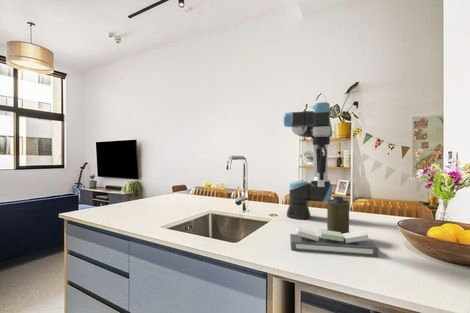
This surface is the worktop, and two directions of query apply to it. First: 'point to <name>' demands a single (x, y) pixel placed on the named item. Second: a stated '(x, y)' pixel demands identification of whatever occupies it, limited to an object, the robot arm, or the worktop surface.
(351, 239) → the block
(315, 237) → the block
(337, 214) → the canister
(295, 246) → the rocker switch panel
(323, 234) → the rocker mid
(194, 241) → the worktop surface
